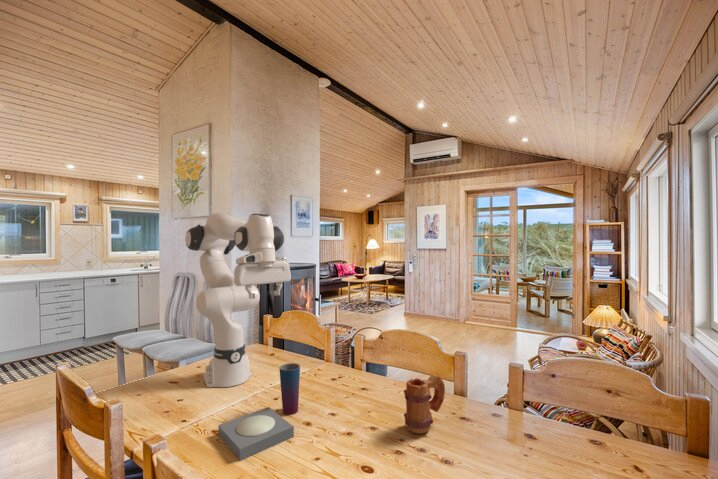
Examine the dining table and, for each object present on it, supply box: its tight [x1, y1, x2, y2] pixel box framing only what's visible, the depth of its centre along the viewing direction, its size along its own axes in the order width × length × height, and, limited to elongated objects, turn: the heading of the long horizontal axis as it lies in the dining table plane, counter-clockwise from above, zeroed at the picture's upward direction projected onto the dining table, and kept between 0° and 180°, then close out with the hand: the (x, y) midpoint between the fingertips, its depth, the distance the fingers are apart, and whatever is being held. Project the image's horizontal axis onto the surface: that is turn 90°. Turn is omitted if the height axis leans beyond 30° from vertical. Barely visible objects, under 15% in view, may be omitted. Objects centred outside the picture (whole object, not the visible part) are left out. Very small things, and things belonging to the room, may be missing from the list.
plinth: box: [217, 407, 295, 461], centre depth 100 cm, size 16×16×3 cm
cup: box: [278, 362, 301, 416], centre depth 115 cm, size 7×7×15 cm
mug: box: [403, 373, 446, 434], centre depth 104 cm, size 15×8×15 cm, turn 117°
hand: (264, 297), depth 120 cm, fingers open, 8 cm apart
